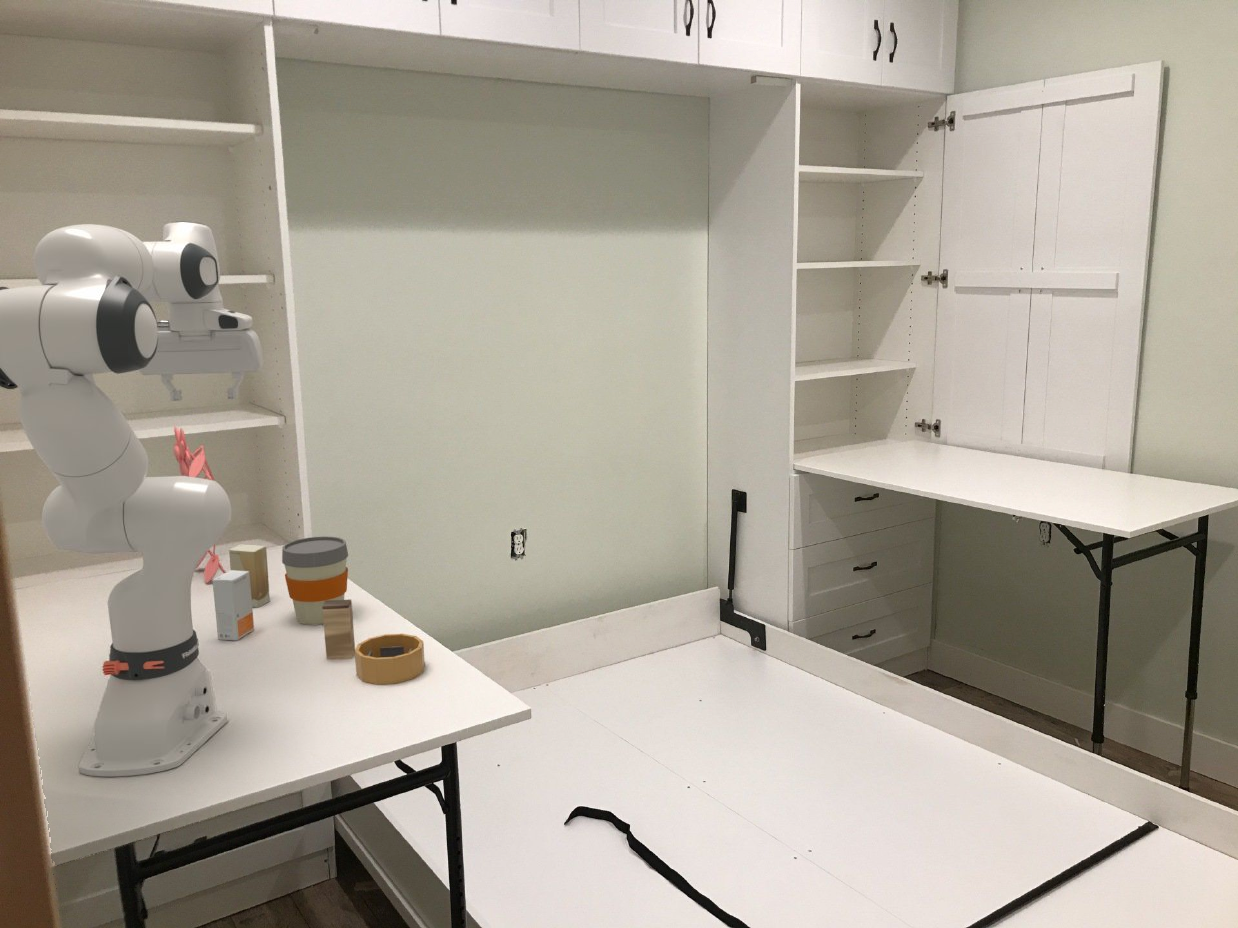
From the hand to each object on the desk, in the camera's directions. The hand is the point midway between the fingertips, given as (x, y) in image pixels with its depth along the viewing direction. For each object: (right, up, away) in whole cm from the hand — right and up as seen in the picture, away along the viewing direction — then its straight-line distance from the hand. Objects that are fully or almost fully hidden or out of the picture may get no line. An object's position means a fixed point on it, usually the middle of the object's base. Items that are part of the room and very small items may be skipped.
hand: (205, 399), depth 171 cm
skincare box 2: (-1, -44, +17) cm, 47 cm away
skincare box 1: (-5, -41, +34) cm, 53 cm away
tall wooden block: (+22, -46, +6) cm, 51 cm away
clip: (+33, -47, -1) cm, 57 cm away
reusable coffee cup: (+12, -42, +26) cm, 51 cm away
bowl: (+33, -47, -1) cm, 57 cm away
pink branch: (-24, -38, +51) cm, 68 cm away
